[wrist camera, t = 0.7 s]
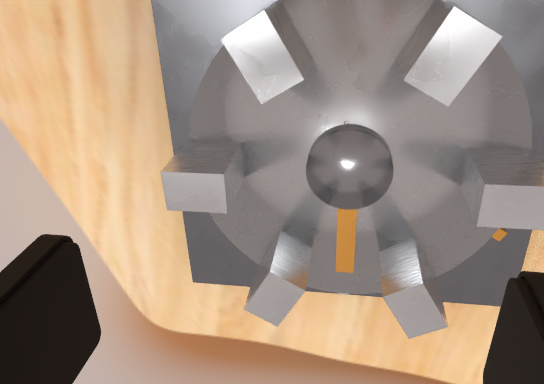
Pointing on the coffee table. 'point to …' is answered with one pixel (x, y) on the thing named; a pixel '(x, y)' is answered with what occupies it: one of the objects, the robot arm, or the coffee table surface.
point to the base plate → (246, 3)
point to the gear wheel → (359, 151)
